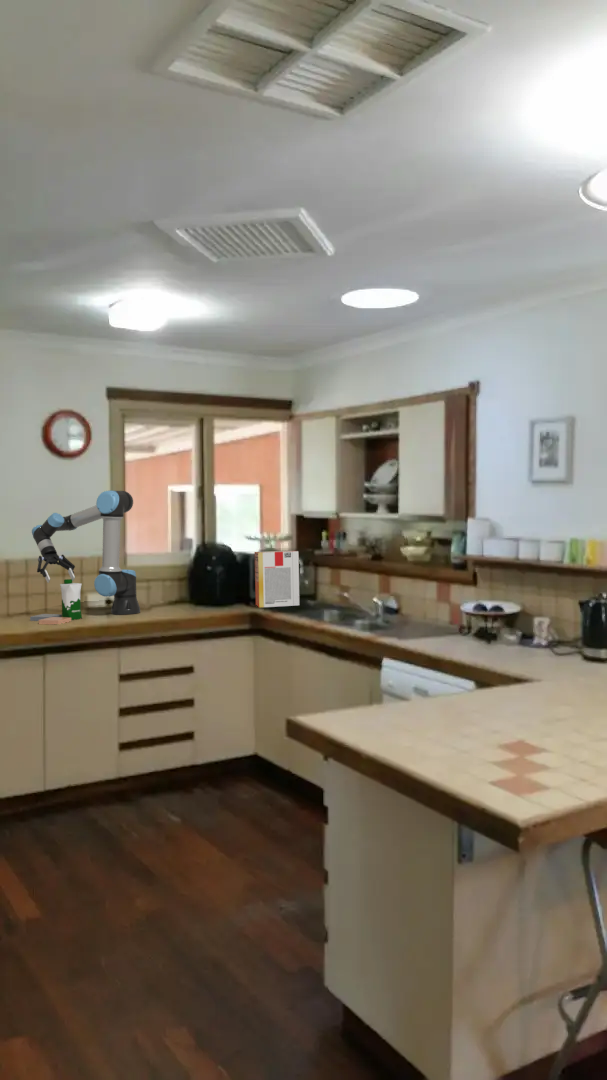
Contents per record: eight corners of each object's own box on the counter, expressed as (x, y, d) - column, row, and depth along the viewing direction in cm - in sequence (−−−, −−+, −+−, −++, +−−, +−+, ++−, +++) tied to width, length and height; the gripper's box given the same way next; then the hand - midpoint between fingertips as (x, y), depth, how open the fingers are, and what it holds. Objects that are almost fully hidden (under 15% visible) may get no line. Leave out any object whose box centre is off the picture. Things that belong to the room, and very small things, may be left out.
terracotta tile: (71, 621, 422) (71, 617, 422) (58, 624, 411) (58, 620, 411) (52, 620, 425) (52, 616, 425) (38, 624, 415) (38, 619, 415)
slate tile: (61, 618, 434) (61, 614, 434) (48, 621, 424) (48, 617, 424) (43, 617, 438) (43, 613, 438) (30, 620, 428) (30, 616, 428)
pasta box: (295, 603, 479) (294, 550, 478) (299, 605, 472) (298, 551, 470) (255, 605, 473) (254, 551, 471) (259, 607, 465) (258, 552, 464)
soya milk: (73, 617, 437) (72, 578, 436) (84, 618, 432) (83, 579, 431) (59, 619, 430) (58, 580, 429) (70, 620, 425) (69, 580, 424)
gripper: (67, 553, 458) (81, 583, 448) (22, 556, 441) (36, 586, 431) (71, 544, 454) (85, 573, 443) (26, 546, 437) (40, 576, 427)
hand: (61, 580), depth 437 cm, fingers open, 13 cm apart
